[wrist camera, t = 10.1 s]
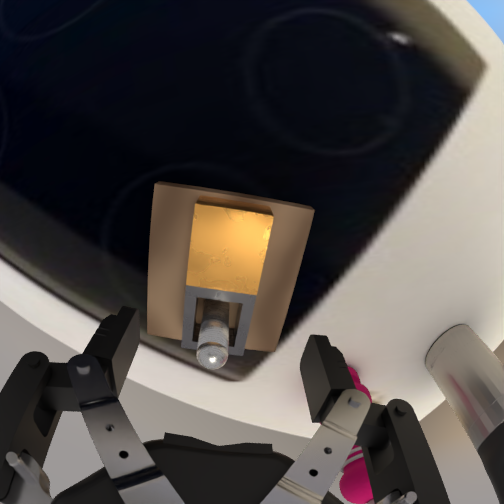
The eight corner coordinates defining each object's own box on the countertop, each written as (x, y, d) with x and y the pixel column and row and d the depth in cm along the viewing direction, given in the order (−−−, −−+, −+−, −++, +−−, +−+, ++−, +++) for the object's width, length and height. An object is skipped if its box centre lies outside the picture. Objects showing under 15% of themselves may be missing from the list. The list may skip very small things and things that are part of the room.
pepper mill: (304, 399, 37) (332, 528, 19) (315, 363, 35) (356, 509, 16) (351, 396, 38) (392, 513, 20) (366, 360, 35) (424, 489, 17)
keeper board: (310, 206, 27) (314, 210, 26) (273, 343, 33) (274, 351, 32) (159, 181, 26) (154, 184, 24) (150, 325, 31) (147, 333, 30)
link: (269, 206, 25) (273, 215, 23) (242, 336, 31) (242, 355, 28) (200, 195, 25) (195, 203, 22) (185, 328, 30) (181, 347, 27)
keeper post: (231, 297, 29) (230, 354, 21) (227, 318, 30) (225, 377, 22) (205, 293, 28) (196, 350, 21) (203, 314, 29) (193, 373, 22)
